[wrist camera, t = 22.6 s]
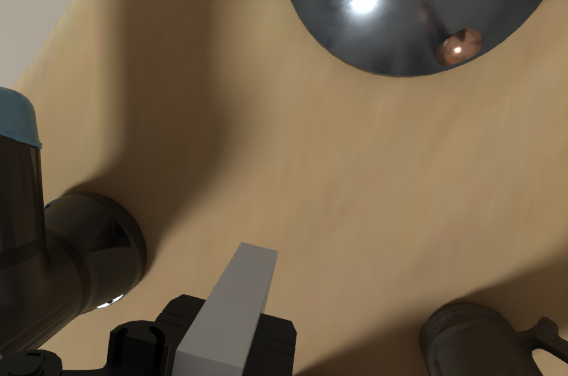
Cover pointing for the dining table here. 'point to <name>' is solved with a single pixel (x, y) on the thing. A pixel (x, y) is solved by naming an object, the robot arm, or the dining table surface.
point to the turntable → (411, 31)
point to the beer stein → (485, 343)
